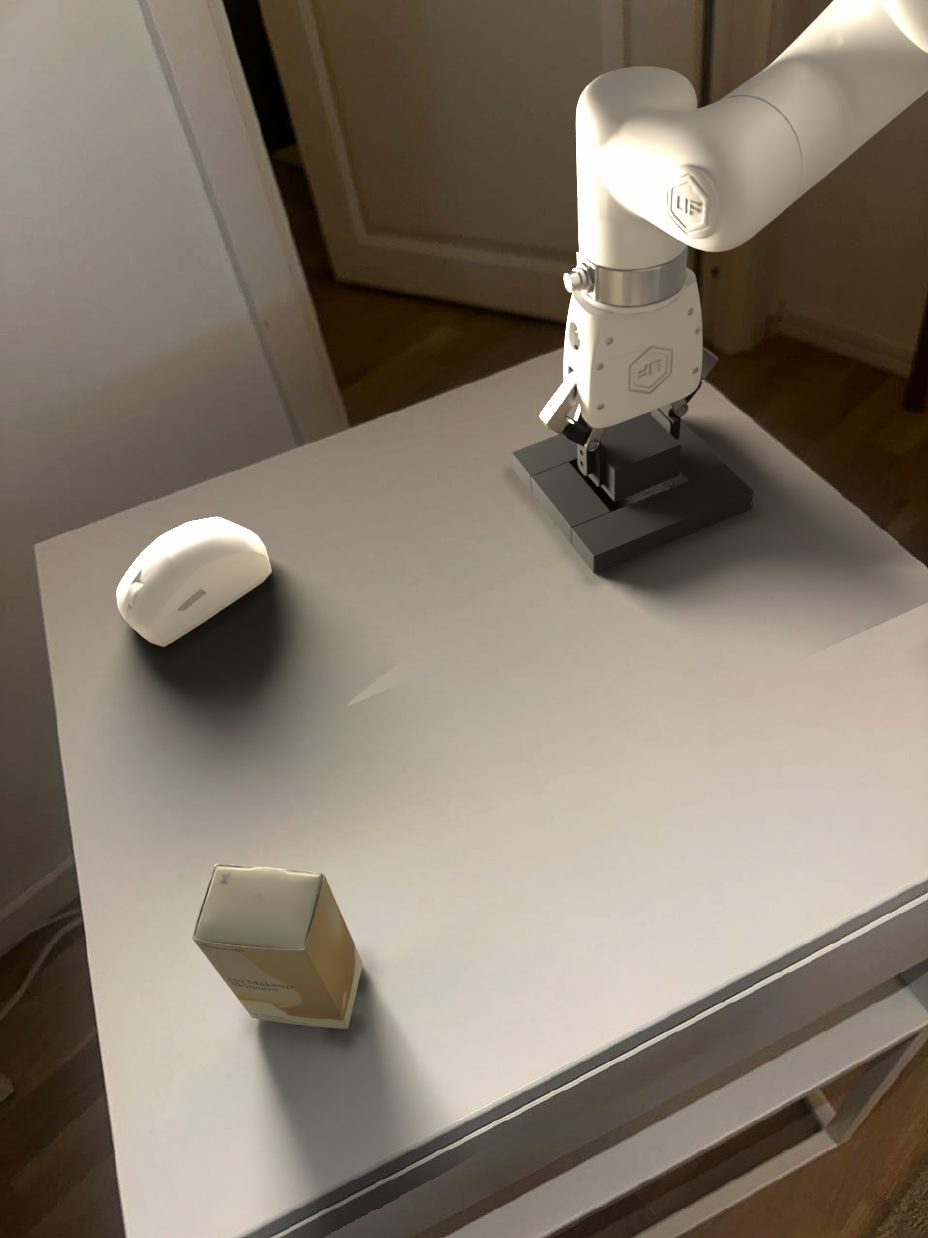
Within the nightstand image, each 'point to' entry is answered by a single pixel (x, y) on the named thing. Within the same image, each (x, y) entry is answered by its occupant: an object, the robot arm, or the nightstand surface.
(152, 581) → the computer mouse
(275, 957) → the cosmetic box
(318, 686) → the nightstand surface
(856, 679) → the nightstand surface
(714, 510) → the frame pad
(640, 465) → the dark grey square block
